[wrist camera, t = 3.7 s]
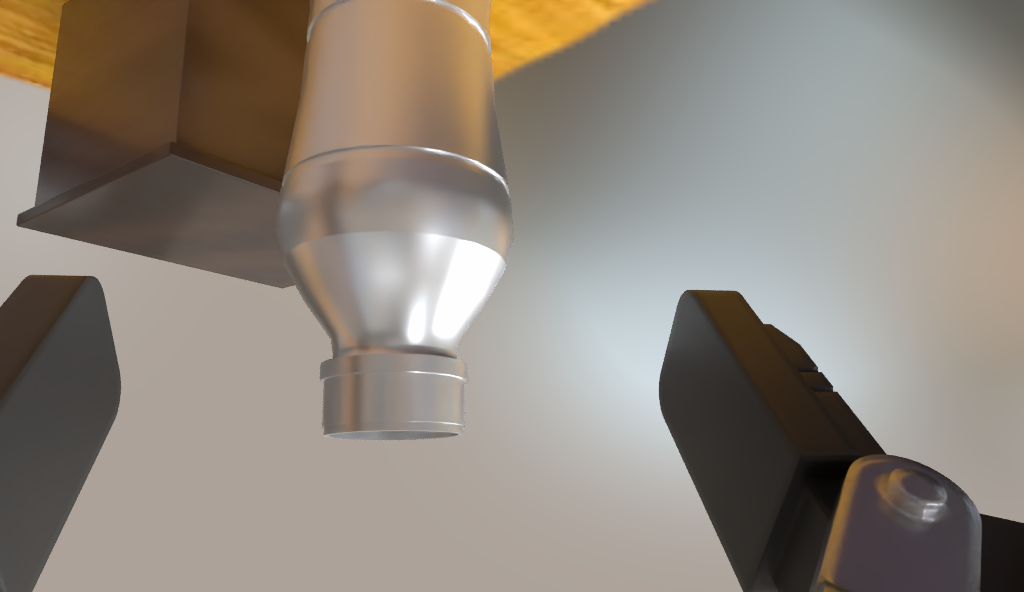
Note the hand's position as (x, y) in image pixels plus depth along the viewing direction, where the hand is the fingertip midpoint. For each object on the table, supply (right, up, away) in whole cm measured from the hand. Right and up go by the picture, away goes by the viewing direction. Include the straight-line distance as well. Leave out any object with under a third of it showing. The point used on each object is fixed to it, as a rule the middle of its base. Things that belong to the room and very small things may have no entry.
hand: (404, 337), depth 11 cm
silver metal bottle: (-2, +17, +13) cm, 21 cm away
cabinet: (-10, +14, +24) cm, 29 cm away
